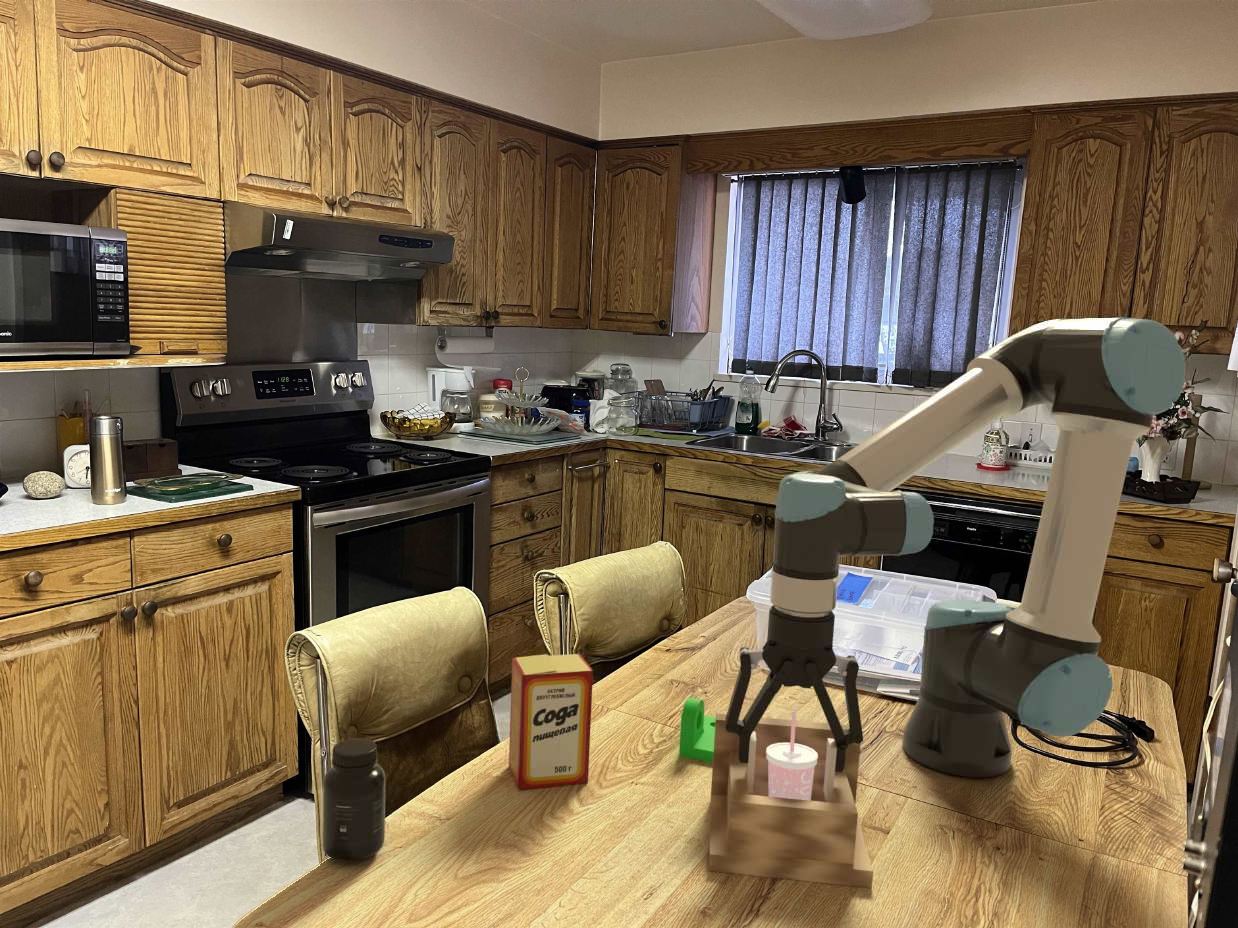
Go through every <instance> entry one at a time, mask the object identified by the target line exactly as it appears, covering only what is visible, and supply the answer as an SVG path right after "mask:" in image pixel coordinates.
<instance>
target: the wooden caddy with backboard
mask: <svg viewBox="0 0 1238 928" xmlns="http://www.w3.org/2000/svg"><path fill="white" fill-rule="evenodd" d="M726 715H727V713H717V712H716V714H715V717H716V722H715V737H714V753H713V763H712V767H711V768H712V771H711V773H712V774H711V785H710V786H711V787H710V799H709V800H710V802H709V804H710V805H709V807H710V810H709V840H708V841H709V845H708V871H709V872H717V873H727V874H735V875H745V876H756V877H764V878H772V879H773V878H774V879H783V880H790V881H791V880H793V881H801V882H812V883H818V884H819V883H822V884H831V885H839V886H840V885H841V886H850V887H858V888H867V889H872V887H873V877H874V869H873V866H872V862H871V859H870V855H869V852H868V850H867V845H866V842H865V837H864V833H863V831H862V828H861V824H860V821H859V816H858V815H859V812H858V809H857V807H856V801H857V790H858V777H859V767H860V754H861V744H862V743H860V744H856V743H852V744H849V745H848V748H847V749H846V754H845V766H844V770H843V772H836V771H835V776H834V788H833V799H832V801H827V800H826V799H825V794H824V790H823V788H824V776H825V764H826V751H827V739H828V738H831V739H834V736H833V734H832V731H831V729H830V726H829V724H828V722H817V721H808V720H807V721H806V720H796V722H795V741H794V743H796V744H801V745H805V746H807V747H810V748H812V749H814V750H815V751H816V752H817V753H818V760H817V764H816V765H815V768H814V776H813V785H812V793H811V801H809V800H799V799H789V798H778V797H769V784H768V760H767V758H766V749H767V747H768V746H770V745H772V744H776V743H790V741H791V722H792V719H785V718H771V717H762V718H761V719H760V721H759V723H758V724H757V726H756V728H755V729H754V731H753V732H756V755H755V769H754V784H753V793H748V781H747V763H740V761H739V756H738V752H739V736H738V735H737V734H736V733H734V732H728V731H727V730H726V726H725V719H726ZM744 717H745V715H740V716H739V720H741V721H742V720H743V719H744ZM841 726H842V729H843V730H846V729H850V728H849V724H841Z"/></svg>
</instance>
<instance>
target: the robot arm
mask: <svg viewBox="0 0 1238 928" xmlns="http://www.w3.org/2000/svg"><path fill="white" fill-rule="evenodd" d="M1185 361H1186V360H1185V356H1184V351H1183V348H1182V346H1181V345H1179V343H1178V339H1177V337H1176V336H1175V334H1174V333H1173V332H1172V331H1171V330H1170V329H1169V328H1168V327H1166V326H1165V325H1164V324H1162V323H1161V322H1158V321H1156V320H1152V319H1145V318H1144V319H1143V318H1133V317H1125V316H1121V317H1111V318H1110V317H1108V318H1106V317H1105V318H1103V317H1102V318H1055V319H1050V320H1046V321H1043V322H1039V323H1036V324H1033V325H1032V326H1029V327H1027V328H1025V329H1022V330H1020V331H1019V332H1016V333H1015V334H1012V335H1010V336H1009V337H1007V338H1005V339H1003V340H1002V341H999V342H998V343H996V344H995V345H993V346H992V347H990V348H988V349H987V350H986V351H984V352H983V353H981V354H979V355H978V356H977V357H975V358H973V359H971V361H970V362H969V363H968V364H967V367H966V373H964V374H962V375H961V376H959V377H958V378H956V379H955V380H954V381H952V382H951V383H949V384H948V385H946V386H944V387H943V388H942V389H940V390H939V391H937V392H935V394H933V395H931V396H930V397H928V398H927V399H925V400H924V401H922V402H921V403H919V404H918V405H916V406H915V407H913V408H912V409H910V410H908V411H907V412H906V413H904V414H902V415H901V416H900V417H898V418H897V419H895V420H894V421H892V422H891V423H889V424H888V425H886V426H884V428H882V429H881V430H879V431H877V432H876V433H874V434H873V435H871V436H870V437H868V438H867V439H866V440H864V441H863V442H861V443H859V444H858V445H856V446H854V448H852V449H850V450H849V451H847V452H846V453H845V454H843V455H841V456H840V457H838V458H836V459H835V460H834V461H832V462H831V463H829V464H828V465H827V466H825V467H823V468H822V469H820V470H819V471H813V470H810V471H809V470H807V471H805V470H804V471H797V472H794V473H792V474H788V475H786V476H784V477H783V478H782V479H781V480H780V482H779V486H778V492H777V499H776V507H775V510H774V517H775V524H774V536H773V537H774V539H773V540H774V541H773V556H772V569H771V584H770V597H769V600H770V603H771V604H772V606H770V607H769V611H768V625H767V636H766V637H767V639H766V642H765V644H764V645H763V646H762V648H760V649H759V648H757V649H750V648H748V647H746V646H742V647H741V648H740V649H739V660H740V661H739V662H740V667H739V671H738V675H737V678H736V681H735V684H734V688H733V691H732V696H731V698H730V701H729V706H728V708H727V711H726V714H727V715H726V719H725V726H726V730H727V731H728V732H734V733H736V734H737V735H738V736H739V752H738V756H739V761H740V763H747V781H748V793H753V784H754V769H755V755H756V732H753V731H754V729H755V728H756V726H757V724H758V723H759V721H760V719H761V718H763V716H764V714H765V713H766V711H767V709H768V707H769V706H770V704H771V702H772V701H773V699H774V697H776V694H778V693H779V692H780V690H781V688H782V686H783V687H787V688H791V687H792V688H793V687H800V688H803V689H808V690H809V689H811V687H812V688H813V690H814V692H815V695H816V697H817V699H818V702H819V704H820V706H821V708H822V711H823V713H824V716H825V720H826V721H827V723H828V724H829V726H830V729H831V731H832V734H833V736H834V739H831V738H828V739H827V751H826V764H825V776H824V788H823V790H824V794H825V799H826V800H827V801H832V799H833V788H834V776H835V771H836V772H843V770H844V766H845V754H846V749H847V748H848V745H849V744H852V743H856V744H860V743H861V744H862V743H863V742H864V733H863V727H862V726H863V725H862V720H861V713H860V712H861V710H860V705H859V704H860V703H859V696H858V689H857V684H856V683H857V678H858V673H859V670H860V666H859V663H858V661H857V659H856V656H854V655H851V654H850V655H848V656H840V655H837V654H836V653H835V652H834V649H833V647H834V646H833V644H834V633H835V622H836V621H835V618H836V615H835V613H834V612H833V611H834V610H835V609H836V606H837V598H838V597H837V593H838V581H839V580H838V579H839V572H840V571H839V570H840V563H841V558H845V557H846V558H849V557H875V556H877V557H878V556H880V557H881V556H895V557H899V556H901V555H908V554H909V555H910V554H915V553H918V552H921V551H923V550H924V549H925V548H926V547H927V546H928V545H929V544H930V542H931V539H932V537H933V534H934V523H935V520H934V519H935V518H934V513H933V510H932V508H931V506H930V504H929V502H928V500H926V498H925V497H924V496H923V495H921V494H919V493H917V492H914V491H913V492H912V491H911V492H910V491H901V490H900V489H898V490H894V489H896V488H897V487H899V486H900V485H902V484H903V483H904V482H906V481H907V480H909V479H910V478H912V477H913V476H915V475H916V474H918V473H919V472H921V471H922V470H924V469H926V468H927V467H928V466H929V465H931V464H932V463H934V462H935V461H937V460H938V459H940V458H941V457H942V456H945V454H947V453H948V452H950V451H951V450H953V449H954V448H956V447H957V446H959V445H960V444H962V443H963V442H965V441H966V440H968V439H969V438H971V437H973V435H975V434H976V433H978V432H979V431H980V430H982V429H983V428H986V426H989V424H991V423H992V422H994V421H995V420H997V419H998V418H1012V417H1014V416H1016V415H1018V414H1019V413H1020V412H1021V411H1022V410H1025V409H1026V408H1030V407H1032V406H1033V407H1034V406H1036V405H1045V404H1047V405H1048V404H1052V407H1051V413H1050V416H1051V417H1052V418H1053V420H1054V421H1055V423H1056V424H1057V426H1058V428H1059V435H1058V438H1057V439H1058V440H1057V442H1056V443H1057V444H1056V448H1055V453H1054V457H1053V461H1052V466H1051V470H1050V475H1049V478H1048V483H1047V487H1046V492H1045V497H1044V500H1043V501H1044V502H1043V505H1042V510H1041V515H1040V519H1039V522H1038V527H1037V532H1036V536H1035V540H1034V546H1033V548H1032V549H1033V550H1032V554H1031V558H1030V563H1029V567H1028V571H1027V577H1026V581H1025V585H1024V590H1023V593H1022V598H1021V602H1020V604H1019V606H1018V607H1016V608H1014V609H1012V607H1010V606H1008V605H1006V604H1003V603H998V602H991V601H983V600H981V601H980V600H965V599H964V600H963V599H962V600H960V599H955V600H944V601H943V600H942V601H938V602H936V603H934V604H932V605H931V606H930V607H929V608H928V611H927V616H926V622H925V623H926V625H925V626H924V628H923V629H924V636H923V647H922V661H921V673H920V688H919V695H918V696H919V697H918V699H917V701H916V704H915V706H914V707H913V709H912V712H911V714H910V716H909V718H908V721H907V723H906V725H905V727H904V728H903V734H902V749H903V750H904V752H905V753H906V755H908V756H909V757H910V758H911V759H913V760H914V761H916V762H918V763H919V764H921V765H924V766H926V767H929V768H931V769H932V770H936V771H939V772H943V773H946V774H950V775H954V776H962V777H968V778H989V777H990V778H991V777H996V776H1000V775H1003V774H1005V773H1006V772H1007V771H1009V770H1010V768H1011V765H1012V756H1013V755H1012V754H1013V752H1012V745H1011V741H1010V736H1009V732H1008V728H1007V724H1006V720H1005V714H1006V715H1008V716H1010V717H1011V718H1013V719H1015V720H1018V721H1019V722H1020V723H1021V724H1022V725H1024V726H1026V727H1028V728H1029V729H1033V730H1037V731H1040V732H1042V733H1044V734H1046V735H1049V736H1052V737H1060V738H1063V737H1069V736H1074V735H1077V734H1079V733H1081V732H1083V731H1085V730H1086V729H1088V727H1089V726H1090V725H1091V724H1094V723H1095V721H1097V719H1098V718H1099V717H1100V716H1101V715H1102V714H1103V712H1104V711H1105V710H1106V707H1107V706H1108V704H1109V701H1110V699H1111V696H1112V695H1111V694H1112V691H1113V685H1114V684H1113V682H1114V681H1113V675H1112V674H1111V673H1110V672H1111V669H1110V666H1109V665H1108V664H1107V663H1106V661H1105V660H1103V659H1102V658H1101V657H1100V656H1098V655H1099V651H1100V650H1099V649H1100V645H1101V642H1102V637H1101V635H1100V634H1099V632H1098V631H1097V629H1096V628H1095V627H1094V624H1093V623H1092V621H1093V617H1094V614H1095V613H1094V612H1095V609H1096V603H1097V600H1098V596H1099V592H1100V587H1101V582H1102V578H1103V575H1104V569H1105V565H1106V561H1107V558H1108V557H1107V556H1108V554H1109V553H1108V552H1109V547H1110V543H1111V540H1112V534H1113V530H1114V526H1115V522H1116V518H1117V515H1118V510H1119V505H1120V501H1121V497H1122V496H1121V495H1122V492H1123V488H1124V483H1125V479H1126V474H1127V471H1128V467H1129V463H1130V462H1129V461H1130V456H1131V454H1132V449H1133V444H1134V442H1136V440H1137V439H1139V438H1141V437H1143V436H1144V435H1145V434H1147V433H1149V432H1150V431H1151V428H1152V423H1153V419H1154V416H1156V415H1160V414H1161V413H1164V412H1166V411H1167V410H1169V409H1171V407H1173V403H1174V402H1175V403H1176V402H1178V400H1179V398H1180V396H1181V394H1182V392H1183V390H1184V385H1185V382H1186V381H1185V380H1186V362H1185ZM893 490H894V491H893ZM760 661H764V663H765V664H766V666H767V667H768V668H769V671H770V672H769V673H768V675H767V677H766V680H765V682H764V683H763V686H762V687H761V689H760V690H759V692H758V694H757V695H756V697H755V699H754V700H753V702H752V703H751V704H750V707H749V709H748V711H747V712H746V713H745V715H744V716H745V717H744V719H743V720H742V721H741V720H739V716H741V712H742V708H743V706H744V702H745V698H746V696H747V691H748V687H749V685H750V681H751V676H752V670H755V669H757V668H758V667H759V666H758V665H759V663H760ZM834 666H835V667H836V668H837V671H838V673H839V675H840V676H841V677H842V682H843V688H844V689H843V691H844V699H845V705H846V711H847V719H848V725H849V728H850V729H846V730H843V729H842V726H841V725H842V723H841V722H840V719H839V717H838V714H837V712H836V709H835V706H834V705H833V701H832V700H831V697H830V695H829V692H828V690H827V688H826V684H825V682H824V680H823V678H824V677H826V675H827V674H829V672H830V671H831V670H832V669H833V668H834Z"/></svg>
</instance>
